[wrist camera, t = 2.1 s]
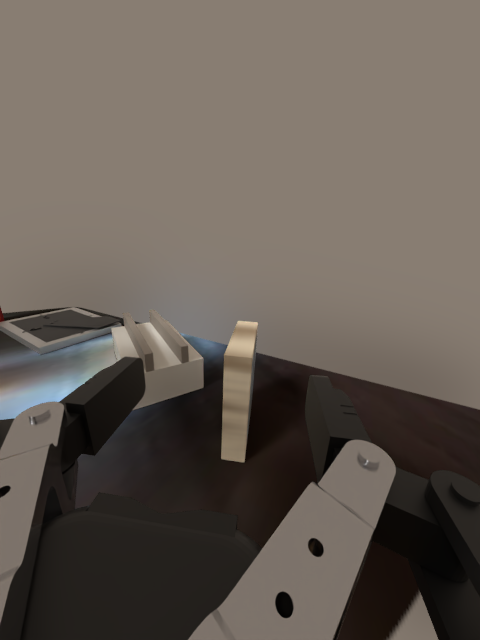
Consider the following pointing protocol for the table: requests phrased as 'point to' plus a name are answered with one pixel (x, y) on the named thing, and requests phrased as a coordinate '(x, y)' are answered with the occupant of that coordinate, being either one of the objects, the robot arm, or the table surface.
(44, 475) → the robot arm
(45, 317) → the picture frame
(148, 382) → the picture ledge
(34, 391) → the table surface
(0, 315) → the baking soda box
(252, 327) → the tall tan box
